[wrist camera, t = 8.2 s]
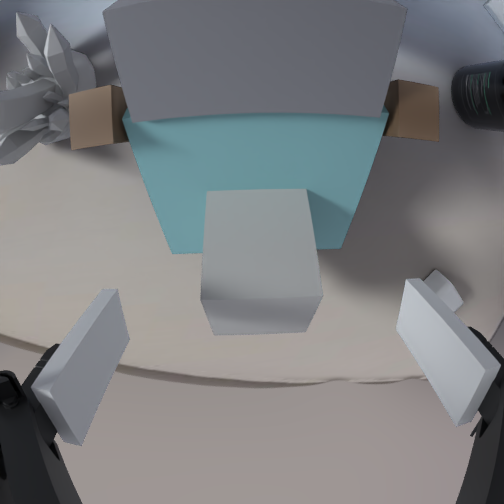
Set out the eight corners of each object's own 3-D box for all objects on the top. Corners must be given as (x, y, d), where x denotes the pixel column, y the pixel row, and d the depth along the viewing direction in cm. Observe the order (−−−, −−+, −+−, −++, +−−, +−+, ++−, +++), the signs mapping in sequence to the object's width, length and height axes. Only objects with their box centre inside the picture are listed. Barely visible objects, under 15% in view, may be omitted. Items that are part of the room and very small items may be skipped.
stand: (142, 96, 25) (68, 76, 13) (359, 91, 25) (437, 69, 13) (145, 150, 26) (73, 169, 14) (359, 145, 27) (438, 160, 14)
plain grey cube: (206, 191, 19) (200, 299, 16) (306, 188, 19) (323, 295, 16) (216, 244, 24) (214, 335, 21) (296, 242, 24) (305, 332, 21)
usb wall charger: (447, 288, 32) (465, 305, 28) (404, 328, 34) (418, 348, 30) (433, 267, 31) (452, 283, 27) (388, 309, 33) (402, 329, 29)
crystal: (110, 25, 22) (18, -32, 8) (87, 158, 27) (-22, 190, 13) (31, 34, 21) (-68, 9, 7) (13, 153, 26) (-93, 183, 12)
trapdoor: (123, -10, 11) (87, 16, 9) (379, -13, 11) (421, 12, 9) (177, 209, 28) (171, 259, 25) (331, 205, 28) (341, 254, 25)
